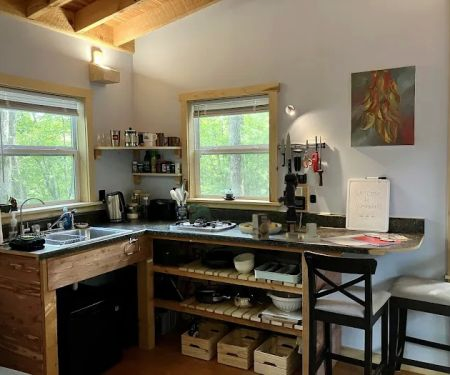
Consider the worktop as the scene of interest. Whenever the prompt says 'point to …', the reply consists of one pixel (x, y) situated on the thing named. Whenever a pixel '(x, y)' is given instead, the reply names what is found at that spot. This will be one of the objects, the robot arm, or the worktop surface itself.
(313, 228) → the lever cap
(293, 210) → the robot arm
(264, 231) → the coffee box
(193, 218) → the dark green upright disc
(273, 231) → the bowl
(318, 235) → the tray
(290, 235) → the plane body
